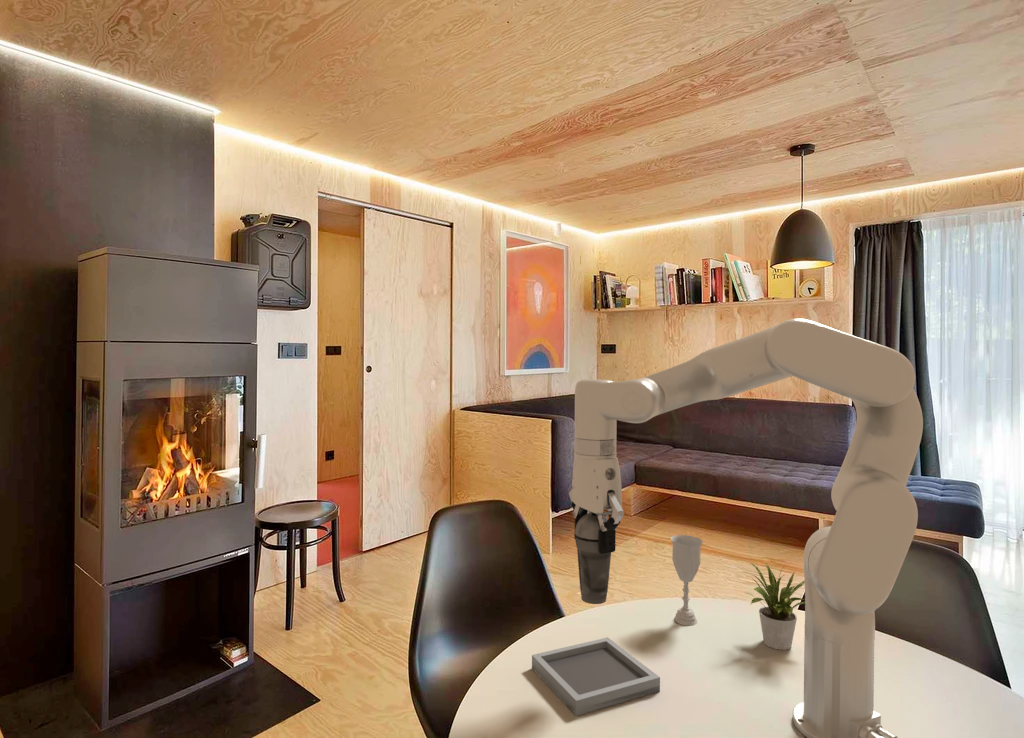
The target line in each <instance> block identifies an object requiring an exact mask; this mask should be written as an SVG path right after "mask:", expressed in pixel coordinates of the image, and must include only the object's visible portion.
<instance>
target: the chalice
mask: <svg viewBox="0 0 1024 738" xmlns="http://www.w3.org/2000/svg"><path fill="white" fill-rule="evenodd" d="M670 541H671V543H672V562H673V566H674V568H675V571H676V573H677V576H678V578H679V580H680V581H682V582H683V588H682V592H683V596H682V597H681V599H682V600H683V605H682V607H679V608H678V609H677V611H676V614H675V616H674V617H673V620H674V621H675V622H676V623H677V622H678V623H677V624H679V623H680V625H683V626H694V625H695V626H696V625H697V624H698V622H697V621H698V619H697V616H696V615H695V612H694V610H693V609H692V608H690V606H689V601H691V598H690V597H689V592H690V589H689V584H690V583H691V582H693V581H694V578H695V576H697V573H698V571H699V568H700V566H701V546H702V545H703V543H704V541H703V540H702V539H701V538H698V537H696V536H692V535H687V534H685V535H684V534H683V535H682V534H678V535H672V536H671V537H670Z"/></svg>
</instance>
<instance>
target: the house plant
mask: <svg viewBox="0 0 1024 738" xmlns="http://www.w3.org/2000/svg"><path fill="white" fill-rule="evenodd" d="M744 561H746V562H747V563H749V564H751V566H752V567H754V568H755V570H756V571H757V574H758V575H759V577H760V578H758V577H757V575H754V574H752V573H749V572H745V571H743V572H741V573H744V574H748V576H747V575H746V577H747V578H751V579H752V580H753V581H754V582H755V583H756V584H757V586H756V587H754V588H753V591H756V592H757V593H758V594H760V595H761V596H762V598H761V597H754V595H753V594H751V593H748V592H745V594H747V595H748V594H749V595H751V596H752V597H754V598H752V599H751V602H750V605H753V604H755V603H758V602H760V603H761V601H764V602H765V603H766V604H767V606H765V604H763V603H761V605H762V606H763V607H760V608H759V610H758V614H759V620H760V627H761V632H762V633H761V634H762V639H763V643H764V645H766V646H768V647H769V648H772V649H774V650H778V649H780V650H779V651H786V649H788V650H790V649H791V648H792V645H793V639H794V635H795V629H796V625H797V615H796V614H795V613H794V612H793V610H794V608H796V607H797V606H800V605H803V604H804V605H805V598H801V597H791V596H792V595H793V594H794V593H795V592H796V591H797V590H798V589H800V588H801V587H803V585H805V579H804V580H803V581H801V582H799V583H798V584H797V585H795V586H794V585H793V586H791V585H792V583H793V580H794V576H795V572H793V573H792V575H791V576H790V577H789V579H788V582H787V583H786V587H785V586H784V587H781V589H780V583H781V580H782V578H783V577H784V576H785V574H783V575H782V576H781V573H782V570H783V568H784V567H782V568H781V569H780V572H779V576H778V579H777V580H776V577H775V574H774V572H773V571H772V570H771V568H770V567H769V565H768V564H767V563H765V564H764V565H765V568H766V569H767V575H768V580H769V584H768V583H767V582H766V580H765V578H764V575H763V573H762V571H761V570H760V569H759V568H758V566H757V565H755V564H754V563H752V562H751V561H748V560H744ZM749 575H751V576H753V577H755V578H756V579H757V580H758V581H759V582H760V583H761V585H762V586H763V587H761V586H760V585H759V583H758V582H757V580H755V579H754V578H753V577H751V576H749ZM779 590H780V591H779ZM779 592H780V593H779ZM795 601H800V602H798V603H796V604H794V605H793V606H791V605H792V603H793V602H795ZM781 649H782V650H781Z"/></svg>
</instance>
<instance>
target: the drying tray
mask: <svg viewBox="0 0 1024 738" xmlns="http://www.w3.org/2000/svg"><path fill="white" fill-rule="evenodd" d="M531 669H532V670H533V671H534V672H535V673H536V674H537V676H538V677H539V678H540V679H541V680H542V681H543V682H544V683H545V684H546V685H547V686H548V687H549V689H551V690H552V692H553V693H554V694H555V695H556V696H557V697H558V698H559V699H560V701H562V702H563V703H564V704H565V706H566V707H567V708H568V709H569V710H570V711H571V712H572V713H573V714H574V716H576V717H577V716H581V715H585V714H588V713H591V712H595V711H598V710H602V709H605V708H609V707H611V706H616V705H618V704H622V703H626V702H627V701H628V702H629V701H632V700H635V699H639V698H642V697H646V696H650V695H652V694H655V693H659V692H661V677H660V676H659V675H658V674H657V673H655V672H654V671H653V670H651V669H650V668H649V667H648V666H646V665H645V664H643V663H642V662H640V661H639V660H638V659H637V658H636V657H634V656H633V655H632V654H630V653H629V652H628V651H627V650H625V649H624V648H623V647H621V646H620V645H618V644H617V642H615V641H613V640H612V639H611V638H609V637H604V638H599V639H595V640H591V641H586V642H582V643H578V644H573V645H569V646H565V647H560V648H557V649H551V650H548V651H544V652H539V653H534V654H532V655H531Z"/></svg>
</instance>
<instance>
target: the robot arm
mask: <svg viewBox="0 0 1024 738" xmlns="http://www.w3.org/2000/svg"><path fill="white" fill-rule="evenodd" d="M792 377H794V378H797V379H800V380H801V381H803V382H807V383H810V384H812V385H814V386H816V387H820V388H821V389H824V390H826V391H827V390H828V391H829V392H832V393H835V394H838V395H840V396H843V397H846V398H848V399H850V400H851V401H852V403H853V405H854V407H855V411H856V424H855V429H854V432H853V434H852V437H851V441H850V445H849V446H848V449H847V452H846V454H845V457H844V460H843V462H842V464H841V466H840V469H839V472H838V474H837V476H836V478H835V480H834V482H833V484H832V487H831V492H830V495H831V497H830V498H831V501H832V505H833V507H834V509H835V511H836V512H835V516H834V518H833V520H832V524H831V525H829V526H824V527H822V528H820V529H816V530H815V532H813V533H812V534H811V535H810V537H809V538H808V539H807V541H806V544H805V547H804V551H803V578H804V580H805V583H804V602H805V603H804V609H805V610H804V647H803V648H804V650H803V651H804V653H803V655H804V656H803V657H804V658H803V701H801V702H799V703H797V704H796V705H795V706H794V707H793V710H792V720H793V724H794V725H795V728H797V730H798V731H799V732H800V734H803V736H804V737H806V738H899V737H898V736H897V735H895V734H894V733H892V732H891V731H889V730H886V729H885V728H883V725H881V720H882V718H881V716H882V715H881V713H879V712H877V711H874V706H875V705H874V702H875V701H874V700H875V699H874V696H875V695H874V694H875V693H874V691H875V689H874V688H875V687H874V686H875V640H876V613H875V612H876V610H877V609H879V608H880V607H881V606H882V605H883V604H884V603H885V602H886V600H887V599H888V597H889V596H890V594H891V592H892V589H893V587H894V585H895V583H896V580H897V578H898V576H899V575H900V572H901V569H902V566H903V564H904V562H905V559H906V558H907V557H906V556H907V554H908V552H909V549H910V546H911V544H912V542H913V539H914V536H915V534H916V530H917V526H918V519H919V513H918V512H919V511H918V506H917V502H916V500H915V497H914V496H913V494H912V493H911V491H910V489H908V488H907V484H908V481H909V478H910V475H911V473H912V469H913V467H914V463H915V461H916V458H917V454H918V451H919V447H920V444H921V441H922V436H923V430H924V417H923V411H922V406H921V404H920V401H919V398H918V395H917V393H916V391H915V389H914V387H915V384H916V371H915V368H914V366H913V363H912V362H911V361H910V360H909V358H907V357H906V356H905V355H904V354H903V353H901V352H899V351H898V350H896V349H894V348H891V347H888V346H886V345H882V344H879V343H877V342H873V341H871V340H867V339H864V338H861V337H858V336H855V335H854V334H849V333H847V332H843V331H840V330H838V329H835V328H832V327H830V326H827V325H824V324H821V323H819V322H816V321H813V320H809V319H806V318H791V319H787V320H784V321H783V322H780V323H778V324H777V325H774V326H772V327H769V328H766V329H764V330H759V331H757V332H755V333H752V334H749V335H746V336H744V337H741V338H739V339H735V340H733V341H730V342H727V343H724V344H721V345H719V346H715V347H712V348H710V349H707V350H705V351H703V352H701V353H699V354H697V355H696V356H694V357H693V358H691V359H689V360H687V361H685V362H683V363H680V364H677V365H674V366H672V367H669V368H667V369H664V370H661V371H658V372H655V373H652V374H649V375H646V376H643V377H640V378H635V379H629V380H622V381H621V380H620V381H613V380H611V379H593V378H592V379H591V378H590V379H585V378H584V379H580V380H578V381H577V382H576V384H575V386H574V388H575V389H574V444H573V445H574V446H573V447H574V453H573V455H574V459H573V467H572V481H571V489H570V491H569V492H568V495H569V499H570V501H571V507H572V509H573V512H572V515H573V518H574V530H575V529H576V525H577V523H578V521H579V520H580V519H581V517H583V516H584V515H586V514H588V513H589V512H592V513H594V514H597V515H598V519H599V523H600V527H601V530H599V535H598V552H599V553H601V554H604V553H610V552H611V553H614V552H615V551H616V538H617V537H616V536H617V535H616V533H617V532H616V531H617V530H618V526H619V525H620V524H621V520H622V519H623V517H624V515H625V511H624V509H623V495H622V494H623V491H622V490H623V489H622V477H621V469H620V463H619V458H618V457H617V439H618V438H617V432H618V431H617V423H618V422H617V421H620V422H625V423H630V424H643V423H646V422H647V421H649V420H651V419H652V418H654V417H656V416H659V415H662V414H665V413H667V412H671V411H674V410H677V409H680V408H683V407H686V406H689V405H693V404H697V403H701V402H706V401H715V400H721V399H722V400H723V399H724V398H729V397H733V396H735V395H738V394H741V393H745V392H747V391H751V390H753V389H757V388H760V387H763V386H766V385H770V384H773V383H776V382H778V381H781V380H785V379H787V378H792ZM604 510H606V511H604ZM604 516H605V517H608V518H607V519H608V520H607V521H606V522H605V518H604Z"/></svg>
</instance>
